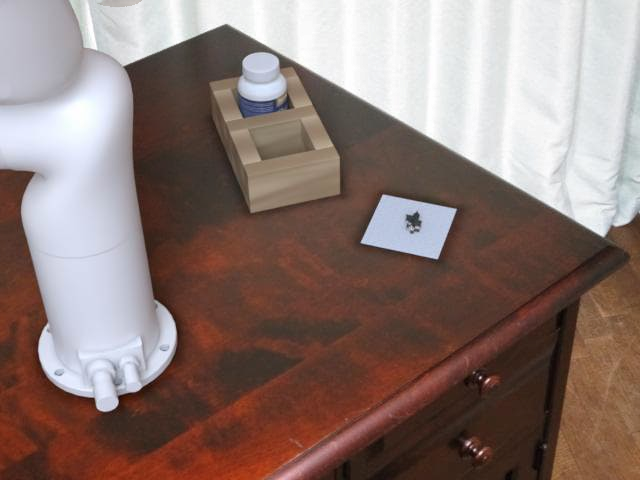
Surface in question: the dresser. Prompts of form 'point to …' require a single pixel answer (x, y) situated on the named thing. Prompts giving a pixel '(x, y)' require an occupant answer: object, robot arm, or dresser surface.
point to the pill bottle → (261, 86)
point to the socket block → (276, 147)
